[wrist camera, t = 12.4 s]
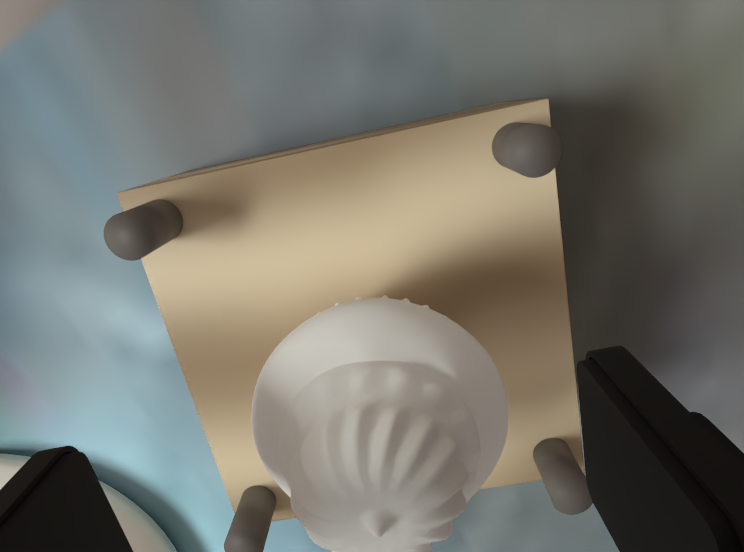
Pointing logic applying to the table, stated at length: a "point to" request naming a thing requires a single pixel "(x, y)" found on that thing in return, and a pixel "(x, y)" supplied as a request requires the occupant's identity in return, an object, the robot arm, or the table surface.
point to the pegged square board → (369, 276)
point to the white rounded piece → (379, 424)
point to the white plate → (137, 525)
